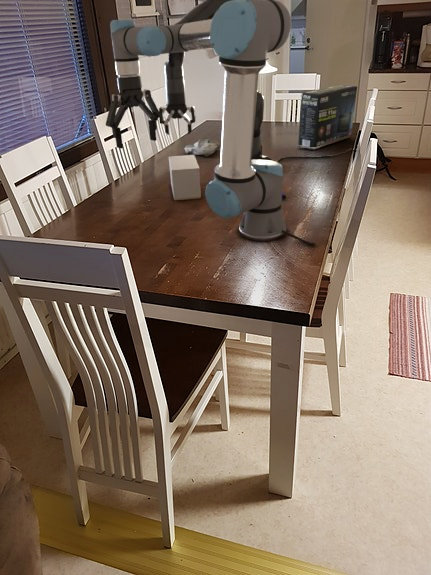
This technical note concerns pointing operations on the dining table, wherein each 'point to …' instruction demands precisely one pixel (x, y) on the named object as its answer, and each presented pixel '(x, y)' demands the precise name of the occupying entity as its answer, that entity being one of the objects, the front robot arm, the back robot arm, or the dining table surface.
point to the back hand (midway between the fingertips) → (178, 134)
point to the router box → (326, 115)
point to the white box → (185, 177)
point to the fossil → (203, 147)
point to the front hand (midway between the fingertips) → (137, 143)
